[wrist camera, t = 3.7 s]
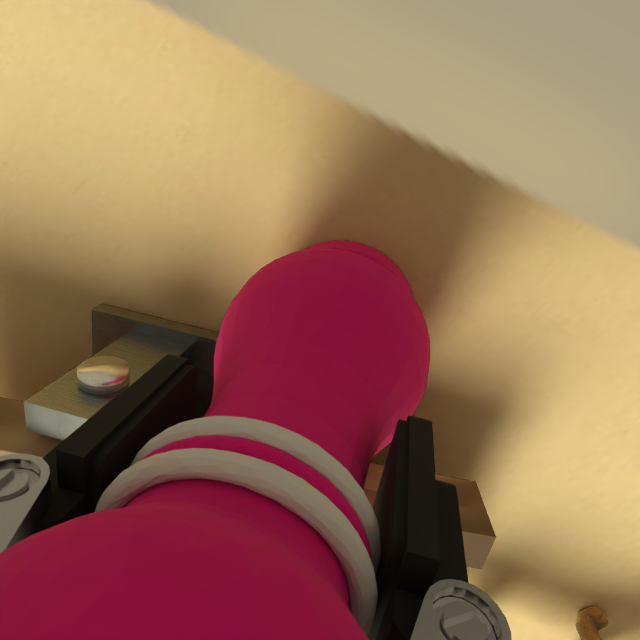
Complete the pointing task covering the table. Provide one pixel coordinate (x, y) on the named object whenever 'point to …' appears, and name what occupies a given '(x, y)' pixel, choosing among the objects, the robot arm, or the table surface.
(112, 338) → the beam stand
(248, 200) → the table surface
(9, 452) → the balance beam
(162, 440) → the pepper mill
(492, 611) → the robot arm
